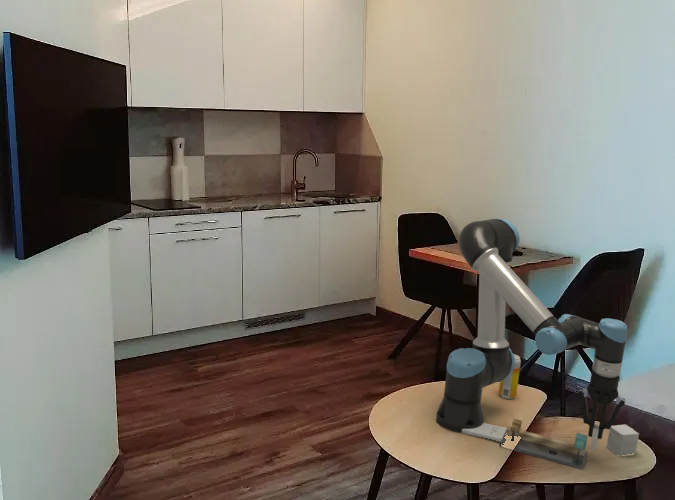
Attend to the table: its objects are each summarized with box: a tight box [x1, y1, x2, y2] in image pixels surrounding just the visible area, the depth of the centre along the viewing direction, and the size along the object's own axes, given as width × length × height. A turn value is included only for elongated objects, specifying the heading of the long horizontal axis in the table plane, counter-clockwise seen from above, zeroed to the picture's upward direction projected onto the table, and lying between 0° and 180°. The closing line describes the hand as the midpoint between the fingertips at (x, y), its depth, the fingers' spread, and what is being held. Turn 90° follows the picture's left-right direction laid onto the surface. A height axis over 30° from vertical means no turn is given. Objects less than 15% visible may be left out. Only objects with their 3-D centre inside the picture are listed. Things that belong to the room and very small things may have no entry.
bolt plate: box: [499, 431, 588, 470], centre depth 207 cm, size 24×10×1 cm, turn 64°
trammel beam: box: [506, 418, 587, 456], centre depth 207 cm, size 23×6×5 cm, turn 64°
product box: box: [606, 423, 640, 456], centre depth 209 cm, size 6×6×7 cm
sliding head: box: [574, 432, 589, 459], centre depth 203 cm, size 3×6×5 cm, turn 154°
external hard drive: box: [461, 422, 508, 442], centre depth 215 cm, size 2×8×12 cm
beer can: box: [498, 353, 522, 400], centre depth 242 cm, size 6×6×15 cm
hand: (593, 447), depth 203 cm, fingers closed
